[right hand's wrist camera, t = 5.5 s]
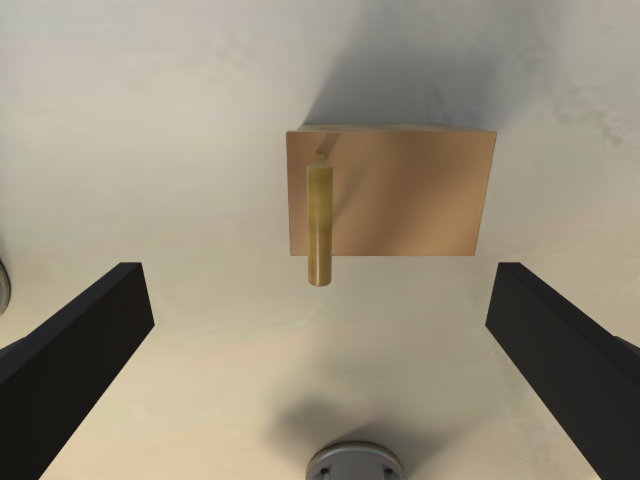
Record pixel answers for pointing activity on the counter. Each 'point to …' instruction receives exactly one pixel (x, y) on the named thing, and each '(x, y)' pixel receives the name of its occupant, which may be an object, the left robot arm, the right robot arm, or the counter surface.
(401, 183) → the lid
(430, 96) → the counter surface
